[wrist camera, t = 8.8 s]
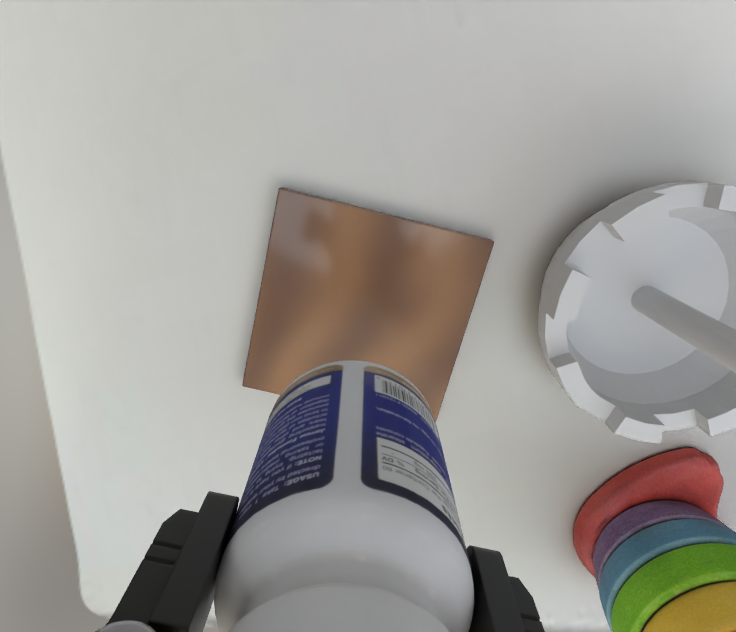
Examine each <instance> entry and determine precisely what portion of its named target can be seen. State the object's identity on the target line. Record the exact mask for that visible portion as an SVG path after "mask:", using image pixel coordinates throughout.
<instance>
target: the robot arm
mask: <svg viewBox="0 0 736 632" xmlns="http://www.w3.org/2000/svg"><path fill="white" fill-rule="evenodd" d="M238 502H239V497H235V496H230V495H225V494H220V493H215V492H211V491H209V492H208V494H207V496H206V498H205V500H204V502H203V504H202V506H201V509H200V511H199V513H198V512H193V511H188V510H183V509H180V510H178V511H177V512H176V513H175V514H173V515H172V516H171V517H170V518H168V519H167V520H166V521H165V522H163V524H162V526H161V527H160V529H159V531H158V533H157V535H156V537H155V538H154V540H153V543H152V544H151V546H150V548H149V549H148V551H147V553H146V555H145V558H144V560H142V562H141V564H140V566H139V568H138V570H137V571H136V573H135V575H134V577H133V579H132V581H131V582H130V584H129V586H128V588H127V590H126V592H125V593H124V595H123V597H122V599H121V601H120V603H119V604H118V606H117V608H116V610H115V612H114V614H113V615H112V617H111V619H110V620H109V622H108V623H107V624H106V625H105V626H104V627H103V628H101V629H99V630H97V631H96V632H203V629H204V626H205V623H206V620H207V617H208V614H209V611H210V608H211V605H212V603H213V600H214V591H215V582H216V576H217V572H218V569H219V565H220V562H221V559H222V555H223V551H224V548H225V545H226V542H227V540H228V537H229V534H230V531H231V528H232V525H233V522H234V519H235V516H236V512H237V507H238ZM467 554H468V557H469V561H470V566H471V573H472V579H473V586H474V609H473V616H472V621H471V625H470V629H469V632H545V631H544V628H543V626H542V623H541V622H540V621H539V619H540V617H539V614H538V611H537V609H536V606H535V603H534V600H533V597H532V596H531V595H530V593H529V592H528V591H527V589H526V588H525V586H524V585H523V584H522V582H521V581H520V580H519V578H515V577H510V576H508V573H507V570H506V567H505V564H504V561H503V557H502V555H501V553H500V552H498V551H494V550H489V549H484V548H480V547H475V546H469V547H468V548H467Z"/></svg>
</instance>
